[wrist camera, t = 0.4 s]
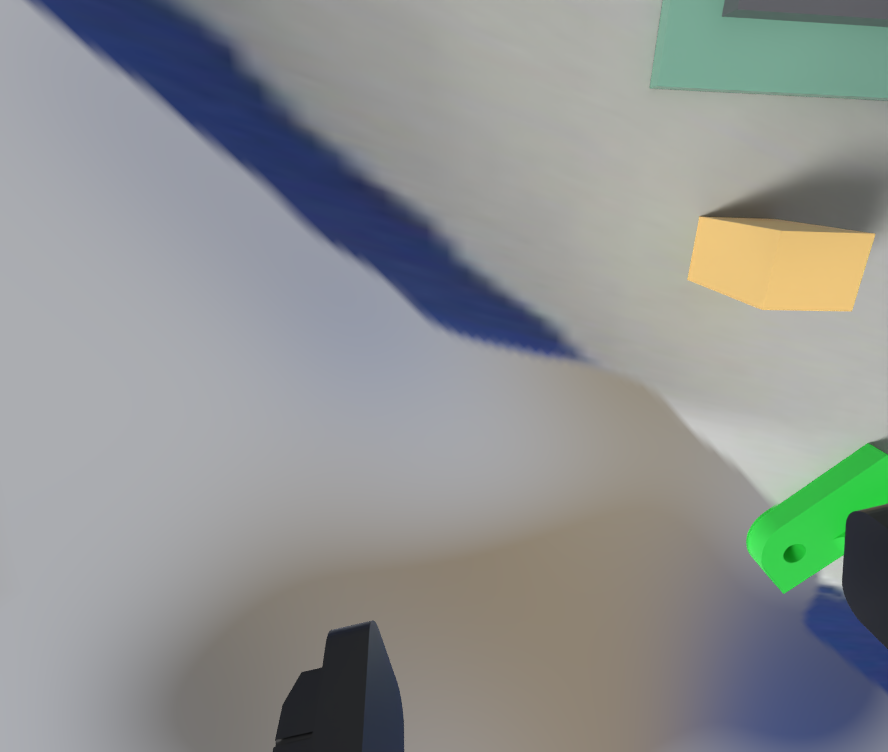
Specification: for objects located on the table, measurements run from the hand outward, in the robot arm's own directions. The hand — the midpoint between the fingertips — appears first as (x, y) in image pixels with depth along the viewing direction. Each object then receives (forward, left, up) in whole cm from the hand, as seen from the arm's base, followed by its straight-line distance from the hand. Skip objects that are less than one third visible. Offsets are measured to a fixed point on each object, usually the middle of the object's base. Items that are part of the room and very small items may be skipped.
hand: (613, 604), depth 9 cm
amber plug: (-2, +18, -28) cm, 33 cm away
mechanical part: (+18, +30, -28) cm, 45 cm away
